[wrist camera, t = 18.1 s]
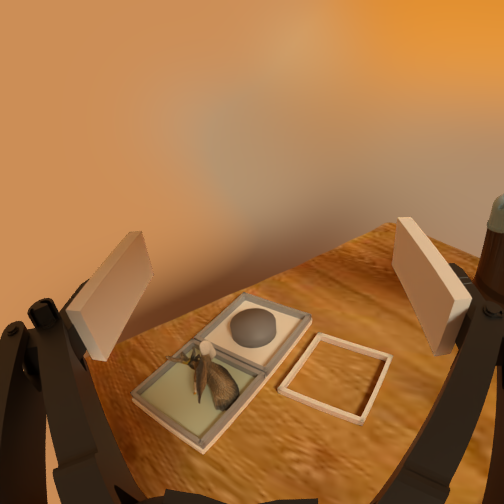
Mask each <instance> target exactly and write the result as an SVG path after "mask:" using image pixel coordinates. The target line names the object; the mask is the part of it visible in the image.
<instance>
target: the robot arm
mask: <svg viewBox="0 0 504 504" xmlns="http://www.w3.org/2000/svg"><path fill="white" fill-rule="evenodd" d="M392 267H393V268H394V270H395V272H396V274H397V276H398V278H399V280H400V282H401V284H402V286H403V288H404V290H405V292H406V294H407V296H408V299H409V301H410V303H411V305H412V307H413V309H414V311H415V313H416V316H417V318H418V320H419V322H420V324H421V327H422V329H423V331H424V333H425V336H426V338H427V340H428V343H429V345H430V347H431V350H432V352H433V355H434V356H439V355H445V354H450V353H451V351H452V349H453V347H454V344H455V343H456V345H457V347H458V349H459V351H458V353H457V355H456V357H455V359H454V361H453V364H452V366H451V368H450V371H449V374H448V376H447V378H446V380H445V382H444V385H443V387H442V389H441V391H440V393H439V395H438V397H437V399H436V401H435V403H434V405H433V407H432V409H431V411H430V413H429V414H428V416H427V418H426V420H425V422H424V424H423V425H422V427H421V429H420V431H419V432H418V434H417V436H416V438H415V439H414V441H413V443H412V444H411V446H410V448H409V449H408V451H407V452H406V454H405V455H404V457H403V459H402V460H401V462H400V463H399V465H398V466H397V468H396V469H395V471H394V472H393V474H392V475H391V476H390V478H389V479H388V481H387V482H386V484H385V485H384V486H383V488H382V489H381V490H380V492H379V493H378V494H377V496H376V497H375V498H374V499H373V501H372V502H371V503H370V504H444V503H445V501H446V499H447V497H448V495H449V492H450V488H449V484H450V482H451V479H452V477H453V476H454V474H455V472H456V470H457V467H458V465H459V463H460V461H461V459H462V457H463V455H464V453H465V450H466V448H467V446H468V443H469V441H470V439H471V436H472V434H473V431H474V429H475V426H476V424H477V421H478V419H479V416H480V413H481V410H482V407H483V405H484V402H485V399H486V396H487V392H488V389H489V386H490V383H491V379H492V376H493V372H494V369H495V366H497V401H496V418H495V430H494V440H493V448H492V455H491V462H490V468H489V474H488V479H487V484H486V489H485V494H484V498H483V502H482V504H504V194H503V195H500V196H499V197H497V198H496V200H495V201H494V203H493V206H492V210H491V214H490V218H489V220H488V222H487V232H486V237H485V241H484V245H483V249H482V254H481V257H480V261H479V264H478V268H477V272H476V275H475V277H474V279H473V280H472V281H471V280H470V278H468V276H467V274H466V273H465V272H464V270H463V269H462V268H460V267H459V266H457V265H456V264H455V263H447V262H446V260H445V259H444V258H443V256H442V255H441V254H440V253H439V251H438V250H437V249H436V247H435V246H434V245H433V244H432V242H431V241H430V240H429V239H428V237H427V236H426V235H425V234H424V232H423V231H422V230H421V229H420V227H419V226H418V225H417V224H416V223H415V221H414V220H413V219H412V218H411V217H402V218H401V217H399V218H397V226H396V235H395V244H394V251H393V259H392ZM153 276H154V273H153V270H152V266H151V263H150V259H149V256H148V252H147V249H146V245H145V242H144V238H143V234H142V231H136V232H129V233H128V234H127V235H126V236H125V238H124V239H123V240H122V241H121V242H120V243H119V245H118V246H117V247H116V248H115V249H114V250H113V252H112V253H111V254H110V255H109V256H108V257H107V259H106V260H105V261H104V262H103V263H102V264H101V266H100V267H99V268H98V269H97V271H96V272H95V273H94V274H93V275H92V277H91V278H90V279H88V280H87V281H85V282H84V283H82V284H81V285H80V286H79V288H78V289H77V290H76V291H75V293H74V294H73V295H72V296H71V298H70V299H69V300H68V302H67V303H66V304H65V305H64V307H63V308H62V309H61V311H60V312H58V310H57V308H56V306H55V304H54V302H53V300H52V299H50V298H44V299H41V300H39V301H37V302H35V303H34V304H33V305H32V306H31V307H30V308H29V310H28V316H29V318H30V319H31V321H32V323H33V325H34V326H35V328H34V329H28V330H27V328H26V327H25V325H24V323H23V322H21V321H16V322H13V323H11V324H10V325H8V326H7V327H6V329H5V330H4V331H3V333H2V336H1V339H0V504H48V502H47V489H46V469H45V468H46V464H45V439H46V414H47V419H48V424H49V428H50V433H51V437H52V441H53V445H54V449H55V453H56V457H57V461H58V468H56V469H53V477H54V482H55V485H56V488H57V491H58V494H59V498H60V501H61V504H226V503H223V502H220V501H217V500H214V499H211V498H209V497H206V496H203V495H200V494H193V493H186V492H180V491H174V490H169V489H166V490H165V495H164V496H160V497H153V498H149V499H147V498H146V496H145V495H144V494H143V492H142V491H141V490H140V489H139V487H138V486H137V484H136V483H135V481H134V479H133V477H132V475H131V473H130V471H129V469H128V467H127V465H126V463H125V461H124V458H123V456H122V454H121V452H120V450H119V448H118V445H117V443H116V441H115V438H114V436H113V434H112V431H111V429H110V427H109V424H108V422H107V419H106V417H105V414H104V411H103V409H102V406H101V403H100V401H99V398H98V395H97V392H96V390H95V387H94V384H93V381H92V378H91V375H90V371H89V368H88V365H87V362H86V360H85V358H84V357H83V355H84V354H85V352H86V350H87V351H88V353H89V355H90V356H91V358H92V360H99V361H107V359H108V357H109V355H110V353H111V352H112V350H113V348H114V346H115V344H116V342H117V340H118V338H119V336H120V334H121V332H122V331H123V329H124V327H125V325H126V323H127V321H128V320H129V318H130V316H131V314H132V312H133V311H134V309H135V307H136V305H137V303H138V301H139V300H140V298H141V296H142V295H143V293H144V291H145V289H146V288H147V286H148V284H149V282H150V281H151V279H152V277H153ZM23 369H24V371H23ZM260 504H318V498H317V499H295V500H275V501H271V502H265V503H260Z"/></svg>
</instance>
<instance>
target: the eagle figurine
mask: <svg viewBox="0 0 504 504" xmlns="http://www.w3.org/2000/svg"><path fill="white" fill-rule="evenodd" d="M199 348H200V352H201V356H200V354H198V355H197V356H196V357H195V355H196V351H195V347H194V346H192V349H193V351H192V355H191V358H188V357H187V356H186V355H185V353H183V352H181V354H180V355H181V358H172V357H170V356H166V358H167V359H168V360H170V361H172V362H176V363H182V364H186V365H188V366H189V367H190V368H191V369H193V370H195V372H194V393H193V394H194V395H195V394H196V393H197V395H198V403H199V404H200V400H201V395H202V393H203V391H204V389H205V387H206V383H207V384H208V385H209V386H210V388H211V391H212V393H213V396H214V403H215V408H216V410H220V411H222V412H223V411H224V410H225V411H227V410H228V409H229V408H230V407H231V406H232V405H233V403H234V402H235V401H236V400H237V399H238V397H239V396H240V392H239V387H238V384H237V383H236V382H235V380H234V379H233V378H232V376H231V374H230V373H229V371H228V370H227V369H226V368H224V367H223V366H221V365H220V364H217V363H214V362H212V361H211V360H212V359H213V358H214V357H215V356H216V351H215V349H214V347H213V345H212V344H211V342H210V341H207V340H205V341H202V342H201V343H200V344H199ZM198 358H200V360H198Z"/></svg>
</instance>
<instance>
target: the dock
mask: <svg viewBox="0 0 504 504" xmlns="http://www.w3.org/2000/svg"><path fill="white" fill-rule="evenodd" d="M311 324H312V318H311V314H309V313H306V312H303V311H300V310H296V309H293V308H290V307H287V306H284V305H281V304H278V303H275V302H272V301H269V300H266V299H263V298H260V297H257V296H254V295H251V294H248V293H245V292H243V293H242V294H241V295H240V296H239V297H238V298H237V299H236V300H234V301H233V302H232V303H231V304H230V305H229V306H228V307H227V308H226V309H225V310H223V311H222V312H221V313H220V314H219V315H218V316H217V317H216V318H215V319H213V320H212V321H211V322H210V323H209V324H208V325H207V326H206V327H205V328H203V329H202V330H201V331H200V332H199V333H198V334H197V335H196V336H194V339H193V338H192V339H191V340H190V341H189V342H188V343H187V344H185V345H184V346H183V347H182V348H181V349H180V350H179V351H177V352H176V353H175V354H174V355H173V356H172V358H181V355H180V354H181V352H183V353H185V355H186V356H187V357H188V358H191V355H192V351H193V349H192V346H194V347H195V351H196V355H195V357H196V356H197V355H198V354H200V356H201V352H200V348H199V344H200V343H201V342H202V341H205V340H207V341H210V342H211V344H212V345H213V347H214V349H215V351H216V356H215V357H214V358H213V359H212V360H211V361H212V362H214V363H217V364H220V365H221V366H223V367H224V368H226V369H227V370H228V371H229V373H230V374H231V376H232V378H233V379H234V380H235V382H236V383H237V384H238V387H239V392H240V396H239V397H238V399H237V400H236V401H235V402H234V403H233V405H232V406H231V407H230V408H229V409H228V410H227V411H225V410H224V411H223V412H222V411H220V410H216V408H215V403H214V396H213V393H212V391H211V388H210V386H209V385H208V384H207V383H206V387H205V389H204V391H203V393H202V395H201V400H200V404H199V403H198V395H197V393H196V394H195V395H194V394H193V393H194V372H195V370H193V369H191V368H190V367H189V366H188V365H186V364H182V363H176V362H172V361H170V360H167V361H166V362H165V363H164V364H163V365H162V366H160V367H159V368H158V369H157V370H156V371H155V372H154V373H152V374H151V375H150V376H149V377H148V378H147V379H145V380H144V381H143V382H142V383H141V384H140V385H139V386H137V387H136V388H135V389H134V390H133V391H132V392H130V393H131V395H132V397H133V398H132V401H133V402H134V404H136V405H137V406H138V407H139V408H140V409H142V410H143V411H144V412H145V413H147V414H148V415H149V416H150V417H152V418H153V419H154V420H156V421H157V422H158V423H159V424H161V425H162V426H163V427H165V428H166V429H167V430H169V431H170V432H171V433H173V434H174V435H176V436H177V437H178V438H180V439H181V440H183V441H184V442H185V443H187V444H188V445H190V446H191V447H193V448H194V449H196V450H197V451H199V452H200V453H202V454H203V455H204V453H205V452H206V451H207V450H208V449H209V448H210V447H211V446H212V445H213V444H214V443H215V442H216V440H217V439H218V438H219V437H220V436H221V435H222V434H223V433H224V432H225V430H226V429H227V428H228V427H229V426H230V425H231V424H232V423H233V421H234V420H235V419H236V418H237V417H238V416H239V414H240V413H241V412H242V411H243V410H244V409H245V407H246V406H247V405H248V404H249V403H250V402H251V400H252V399H253V398H254V397H255V396H256V394H257V393H258V392H259V391H260V390H261V388H262V387H263V386H264V385H265V383H266V382H267V381H268V380H269V378H270V377H271V376H272V375H273V373H274V372H275V371H276V370H277V368H278V367H279V366H280V365H281V363H282V362H283V361H284V359H285V358H286V357H287V356H288V354H289V353H290V352H291V350H292V349H293V348H294V347H295V345H296V344H297V343H298V341H299V340H300V339H301V337H302V336H303V335H304V333H305V332H306V331H307V329H308V328H309V326H310V325H311ZM198 360H200V358H198Z"/></svg>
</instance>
